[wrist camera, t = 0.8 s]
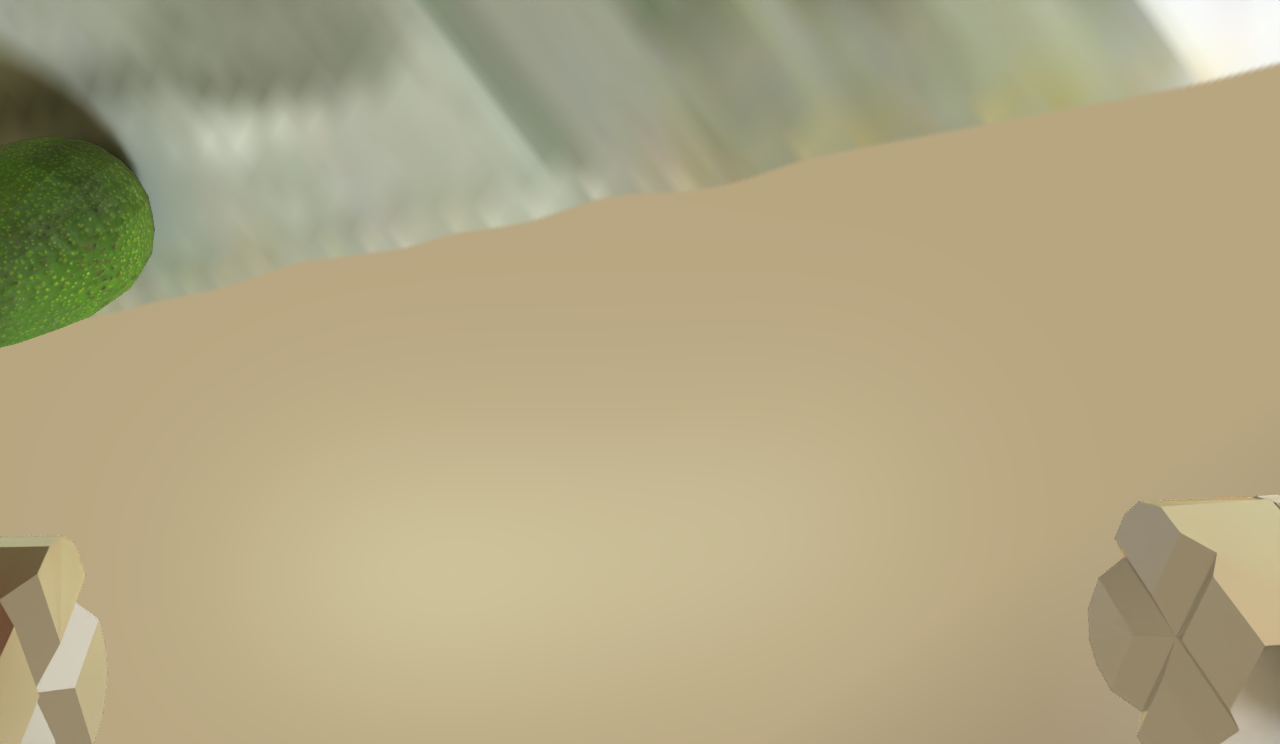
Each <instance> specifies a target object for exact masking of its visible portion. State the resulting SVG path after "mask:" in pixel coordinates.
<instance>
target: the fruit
mask: <svg viewBox="0 0 1280 744" xmlns="http://www.w3.org/2000/svg"><path fill="white" fill-rule="evenodd" d="M154 231H155V228H154V222H153V215H152V211H151V206H150V201H149V197H148V195H147V193H146V192H145V190H144V188H143V187H142V185H141V183H140V182H139V180H138V178H137V177H136V176H135V175H134V174H133V172H132V171H131V170H130V169H129V168H128V167H127V166H126V165H125V164H124V163H123V162H122V161H121V160H120V159H118V158H117V157H115V156H113V155H112V154H110V153H109V152H107V151H106V150H105V149H103V148H102V147H100V146H97V145H95V144H92V143H90V142H87V141H85V140H80V139H72V138H64V137H52V136H46V137H40V138H34V139H29V140H23V141H18V142H14V143H10V144H6V145H1V146H0V348H1V347H5V346H8V345H13V344H16V343H20V342H23V341H26V340H29V339H31V338H34V337H37V336H40V335H43V334H46V333H49V332H51V331H54V330H57V329H60V328H63V327H65V326H67V325H70V324H72V323H75V322H78V321H80V320H83V319H85V318H88V317H90V316H92V315H93V314H94V313H96V312H97V311H99V310H100V309H102V308H103V307H104V306H106V305H107V304H109V303H110V302H112V301H113V300H115V299H116V298H117V297H119V296H120V295H122V294H123V293H124V292H126V291H127V290H129V289H130V288H131V287H132V285H133V284H134V282H135V281H136V279H137V278H138V277H139V275H140V273H141V272H142V270H143V268H144V266H145V265H146V263H147V261H148V259H149V258H150V256H151V254H152V248H153V239H154Z"/></svg>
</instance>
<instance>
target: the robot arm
mask: <svg viewBox="0 0 1280 744" xmlns="http://www.w3.org/2000/svg"><path fill="white" fill-rule="evenodd" d="M1115 540H1116V542H1117V544H1118V546H1119V548H1120V550H1121V552H1122V554H1123V556H1124V558H1122V559H1121V560H1120V561H1119V562H1118V563H1116V564H1115V565H1114V566H1113V567H1111V568H1110V569H1109V570H1108V571H1107V572H1105V573H1104V574H1103V575H1102V576H1100V577H1099V578H1098V581H1097V584H1096V587H1095V589H1094V592H1093V595H1092V598H1091V601H1090V604H1089V607H1088V622H1089V641H1090V645H1091V648H1092V651H1093V655H1094V658H1095V661H1096V664H1097V666H1098V668H1099V670H1100V672H1101V674H1102V676H1103V677H1104V679H1105V681H1106V683H1107V685H1108V686H1109V688H1110V690H1111V691H1112V692H1114V693H1115V694H1117V695H1118V696H1119V697H1121V698H1122V699H1124V700H1125V701H1127V702H1128V703H1129V704H1131V705H1133V706H1134V707H1135V708H1137V709H1138V710H1139V711H1141V717H1140V722H1139V727H1138V732H1137V737H1138V739H1139V740H1140V742H1141V744H1280V495H1264V496H1255V497H1252V498H1247V497H1237V498H1212V499H1187V500H1163V501H1139V502H1137V503H1136V504H1135V505H1134V506H1133V507H1132V508H1131V509H1130V510H1129V511H1128V512H1127V513H1126V514H1125V515H1124V517H1123V519H1122V521H1121V524H1120V526H1119V529H1118V531H1117V533H1116V536H1115ZM85 577H86V573H85V570H84V567H83V565H82V562H81V559H80V556H79V553H78V550H77V547H76V544H75V542H74V541H72V540H70V539H68V538H66V537H63V536H0V744H94V742H95V738H96V735H97V732H98V729H99V725H100V722H101V719H102V715H103V711H104V703H105V694H106V685H107V676H108V668H107V657H106V646H105V640H104V637H103V633H102V629H101V625H100V622H99V619H98V618H96V617H95V616H94V615H92V614H91V613H90V612H88V611H87V610H85V609H84V608H83V607H81V606H80V605H79V604H77V603H76V601H77V598H78V596H79V593H80V590H81V588H82V585H83V583H84V579H85Z"/></svg>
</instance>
